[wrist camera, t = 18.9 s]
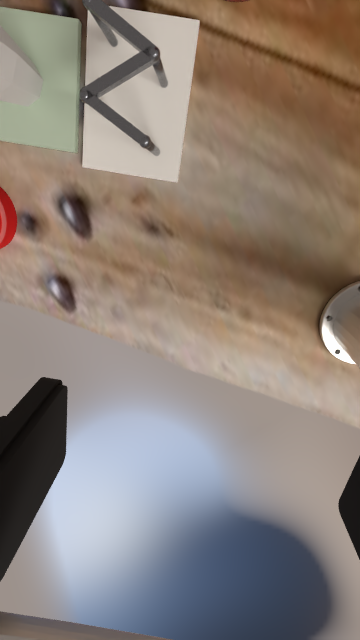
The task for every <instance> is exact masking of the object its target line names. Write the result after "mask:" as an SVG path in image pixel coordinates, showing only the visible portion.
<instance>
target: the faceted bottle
mask: <svg viewBox="0 0 360 640" xmlns="http://www.w3.org/2000/svg"><path fill="white" fill-rule="evenodd" d="M43 81H44V80H43V78H42V77H41V75H40V73H39V71H38V70H37V68H36V66H35V65H34V63H33V62H32V61H31V60H30V59H29V57H28V56H27V55H26V54H25V53H24V52H23V51H22V49H21V48H20V47H19V46H18V45H17V44H16V43H15V41H14V40H13V39H12V38H11V37H10V36H9V35H8V33H7V32H6V31H5V30H4V29H3V28H2V27H1V25H0V101H5V102H9V103H13V104H18V105H22V106H27V107H28V106H30V105H31V104H32V103H34V102H35V101H36V100H38V99H39V98H40V95H41V90H42V85H43Z"/></svg>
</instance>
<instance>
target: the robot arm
mask: <svg viewBox="0 0 360 640" xmlns="http://www.w3.org/2000/svg"><path fill="white" fill-rule="evenodd" d="M359 286H360V281H358V282H355V283H352V284H350V285H348V286H346V287H345V288H343V289H341V290H340V291H339V292H338V293H336V294H335V295H334V296H333V297H332V298H331V300H330V301H329V302H328V303H327V305H326V307H325V308H324V310H323V313H322V315H321V319H320V324H319V327H320V336H321V339H322V341H323V343H324V345H325V347H326V348H327V349H328V350H329V352H330V353H331V354H332V355H333V356H335V357H336V358H338V359H340V360H342V361H344V362H347V363H351V364H356V365H357V366H358V367H359V368H360V288H358V287H359ZM328 315H329V316H328ZM327 316H328V317H327ZM336 349H337V350H336ZM66 427H67V386H64V385H62V381H61V380H58V379H51V378H46V377H42V378H40V379H39V380H38V382H37V383H36V384H35V385H34V386H33V387H32V388H31V389H30V390H29V392H28V393H27V394H26V395H25V396H24V397H23V398H22V399H21V400H20V402H19V403H18V404H17V405H16V406H15V407H14V408H13V409H12V411H11V412H10V413H9V414H8V415H7V416H2V417H0V581H1V580H2V578H3V576H4V575H5V573H6V571H7V569H8V567H9V565H10V563H11V561H12V560H13V558H14V556H15V554H16V552H17V550H18V548H19V546H20V544H21V542H22V541H23V539H24V537H25V535H26V533H27V531H28V529H29V527H30V525H31V523H32V522H33V520H34V518H35V516H36V513H37V512H38V510H39V508H40V506H41V505H42V503H43V501H44V499H45V497H46V495H47V493H48V491H49V489H50V487H51V485H52V484H53V482H54V480H55V478H56V476H57V474H58V472H59V470H60V468H61V467H62V465H63V462H64V459H65V455H66ZM339 512H340V514H341V517H342V519H343V522H344V524H345V526H346V529H347V531H348V533H349V536H350V538H351V541H352V543H353V545H354V547H355V550H356V552H357V555H358V557H359V559H360V456H359V459H358V461H357V463H356V465H355V467H354V469H353V471H352V474H351V476H350V478H349V480H348V482H347V484H346V486H345V489H344V491H343V493H342V495H341V497H340V499H339ZM0 640H171V639H165V638H160V637H154V636H148V635H142V634H136V633H131V632H125V631H119V630H113V629H107V628H102V627H96V626H89V625H84V624H78V623H72V622H66V621H60V620H53V619H46V618H40V617H33V616H27V615H20V614H13V613H7V612H0Z"/></svg>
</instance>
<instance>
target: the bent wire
mask: <svg viewBox="0 0 360 640" xmlns="http://www.w3.org/2000/svg"><path fill="white" fill-rule="evenodd" d="M82 2H83V5H84V6H85V8H86V9H88V10H89V11H90V13H91V14H92V16H93V18H94V19H95V21H96V22H97V24H98V26H99V27H100V29H101V30H102V32H103V34H104V35H105V37H106V38H107V40H108V42H109V43H110V45H111V46H112V47H116V46H117V44H118V40H117V38H116V36H115V35H114V33H113V31H115V32H116V33H117V34H118V35H119V36H121V37H122V38H123V39H124V40H125V41H127V42H128V43H129V44H130V45H132V46H133V47H134V48H135V49H136V50H138V51H139V53H138V54H136V55H134V56H133V57H131V58H130V59H128V60H126V61H125V62H123V63H122V64H120V65H118V66H117V67H115V68H114V69H112V70H110V71H109V72H107V73H106V74H104V75H102V76H101V77H99V78H98V79H96V80H94V81H93V82H91V83H90V84H88V85H86V86H85V87H83V88H82V89H81V91H80V93H79V96H80V99H81V101H82V102H84V103H86V104H88V105H89V106H91V107H92V108H93V109H94V110H96V111H97V112H98V113H100V114H101V115H102V116H103V117H105V118H106V119H107V120H109V121H110V122H111V123H113V124H114V125H115V126H116V127H118V128H119V129H120V130H122V131H123V132H124V133H126V134H127V135H128V136H129V137H131V138H132V139H133V140H135V141H136V142H137V143H139V144H140V146H141V147H142V148H144V149H147V150H148V151H150V152H151V153H152V154H153V155H155V156H158V155H159V154H160V150H159V148H158V147H157V146H156V145H155V144H154V143H153V142H152V141H151V139H150V137H149V136H148V135H145V134H144V133H143V132H141V131H140V130H139V129H137V128H136V127H135V126H134V125H132V124H131V123H130V122H128V121H127V120H126V119H125V118H123V117H122V116H121V115H119V114H118V113H117V112H116V111H114V110H113V109H112V108H110V107H109V106H108V105H107V104H105V103H104V102H103V101H101V100H100V99H99V97H101V96H103V95H104V94H106V93H108V92H109V91H111V90H112V89H114V88H116V87H117V86H119V85H121V84H122V83H124V82H126V81H127V80H129V79H130V78H132V77H134V76H135V75H137V74H139V73H140V72H142V71H144V70H145V69H147V68H149V67H150V66H152V65H153V68H154V70H155V73H156V75H157V78H158V80H159V83H160V85H161V87H163V88H166V87H167V85H168V80H167V77H166V74H165V71H164V68H163V65H162V62H161V59H160V50H159V48H158V47H157V46H155V45H154V44H153V43H152V42H151V41H149V40H148V39H147V38H146V37H145V36H143V35H142V34H141V33H140V32H139V31H137V30H136V29H135V28H134V27H133V26H131V25H130V24H129V23H128V22H127V21H125V20H124V19H123V18H122V17H121V16H119V15H118V14H117V13H116V12H115V11H113V10H112V9H111V8H110V7H109V6H108V5H106V4H105V3H104V2H103V1H102V0H82ZM112 30H113V31H112Z"/></svg>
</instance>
